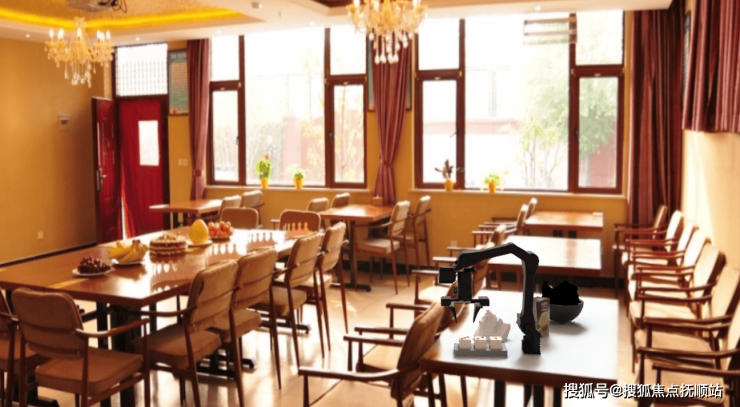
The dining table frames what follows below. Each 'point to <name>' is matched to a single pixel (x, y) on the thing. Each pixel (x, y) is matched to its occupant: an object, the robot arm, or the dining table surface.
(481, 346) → the key two dots
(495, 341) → the key one dot
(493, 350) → the key board
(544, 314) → the coffee box
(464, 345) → the key three dots
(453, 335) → the dining table surface
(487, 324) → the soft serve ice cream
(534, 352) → the robot arm
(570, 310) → the coal bowl
